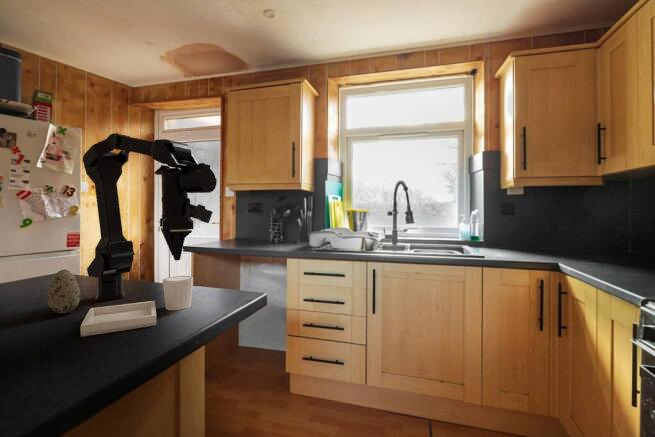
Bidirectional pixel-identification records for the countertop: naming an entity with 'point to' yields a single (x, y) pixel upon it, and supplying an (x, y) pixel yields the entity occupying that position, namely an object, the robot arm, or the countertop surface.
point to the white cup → (178, 292)
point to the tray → (119, 318)
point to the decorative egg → (63, 292)
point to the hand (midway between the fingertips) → (175, 257)
